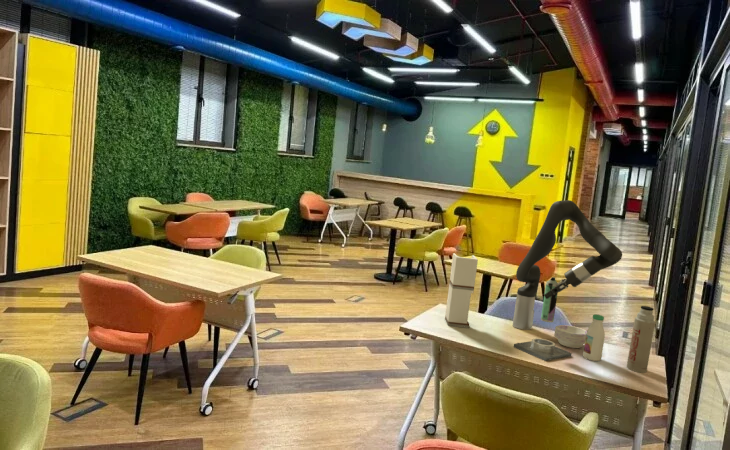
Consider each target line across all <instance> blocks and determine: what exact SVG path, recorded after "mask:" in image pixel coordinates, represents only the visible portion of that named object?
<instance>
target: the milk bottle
mask: <svg viewBox="0 0 730 450" xmlns="http://www.w3.org/2000/svg"><path fill="white" fill-rule="evenodd" d="M604 319H605V316H604V315H600V314H598V313H597V314H592V321H591V324H590V325H589V327H588V328H587V330H586V331H587V333H586V339H585V344H583V345H584V346H583V352H582V357H583V358H584V359H586V360H588V361H594V362H600V361H602V356H603V350H604V344H605V337H606V334H605V328H604V325H603V323H604Z"/></svg>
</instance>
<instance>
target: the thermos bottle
mask: <svg viewBox="0 0 730 450" xmlns="http://www.w3.org/2000/svg"><path fill="white" fill-rule="evenodd" d="M655 326H656V320H655V315H654V308H653V307H651V306H648V305H647V306H646V305H641V306H640V309H639V312H637V313H636V317H634V321H633V327H632V332H631V337H630V338H631V339H630V345H629V351H628V357H627V361H626V369H628V370H630V371H633V372H637V373H643V374H644V373H647V372H648V371H647V370H648V366H649V361H650V354H651V348H652V343H653V337H654V333H655V332H654V331H655Z"/></svg>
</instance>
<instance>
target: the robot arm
mask: <svg viewBox="0 0 730 450" xmlns="http://www.w3.org/2000/svg"><path fill="white" fill-rule="evenodd" d="M569 220H570V221H571V222H573V223H574V224H575V225H576V226H577V227H578V229H579V234H580V236H581V237H582V239H583V240H584V241H585V242H587V244H588V245H590V246H591V247H592V248H593V249H595V251H596V252H597V253H598V254H599V255H598V256H594V255H592V256H590V257H588V258H586V259H584V261H582V262H580V263H578V264H576V265H575V266H573V267H572V268H570V269H568V270H567V271H565V273H564V274H563V275H564V277H565V278H564V279H561V280H560V281H558V282H557V283H558V284H557V285H555V287H554V288H553V289H551V290H550V291H549V292H547V293H546V294H545V293H544V294H545V295H544V294H543V295H544V296H545V297H546V299H548V298H549V297H551V296H552V295H555V294H557V293H561V292H562V291H564V290H566V289H568V288H569V285H571V286H572V287H573V288H577V287H578V286H580V285H581V284H583V283H584V282H585V281H587V280H589V279H590V278H591V277H592V276H594V275H595V274H597V273H598V272H599V271H601V270H604V269H607V268H609V267H612V266H614V265H616V264H617V263H619V262H620V261H621V259H622V258H623V252H622V250H621V249H620V248H619V247H617V246H616V245H615V244H614V243H613V242H612V241H611V240H610V239H608V238H607V237H606V236H605V235H604V234H603V233H602V232H601V231H600V230H599V229H597V228H596V226H594V225H593V224H592V222H590V220H589V219H588V218H587V217H586V215H585V214H584V212H582V210H581V209H580V208H579V207H578V205H577V204H576V203H575V202H574V201H573V200H570V199H567V200H565V199H564V200H557V201H554V202H553V203H552V204H551V206H550V208H549V210H548V212H547V215H546V217H545V220H544V223H543V224H542V226H541V228H540V229H539V232H538V234H537V235H536V237H535V239H534V241H533V243H532V245H531V247H530V248H529V250H528V252H527V253H526V255H525V256H524V258H523V259H522V261H521V262H520V263H519V265H518V267H517V270H516V272H515V274H516V275H515V276H516V277H515V278H516V279H517V280H518V281H519V282H520V283H521V282H522V283H526V284H524V285H522V286H521V287H519V288H517V291H516V292H517V293H516V299H515V306H514V313H513V319H512V327H514V328H516V329H519V330H525V331H526V330H527V331H528V330H531V329H533V322H534V317H535V310H534V308H535V302H536V295H537V292H538V290H539V284H540V278H541V269H540V267H539V265H536V263H538V262H540V261H541V260H543V259H544V258H545V257H547V256H549V254H550V253H551V252H552V250H553V248H554V246H556V245H555V244H556V242H557V236H556V230H557V227H558V226H559V225H560V223H561V222H562V221H569ZM554 289H557V292H556V291H555V290H554ZM557 295H558V294H557ZM544 296H543V297H544Z"/></svg>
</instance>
